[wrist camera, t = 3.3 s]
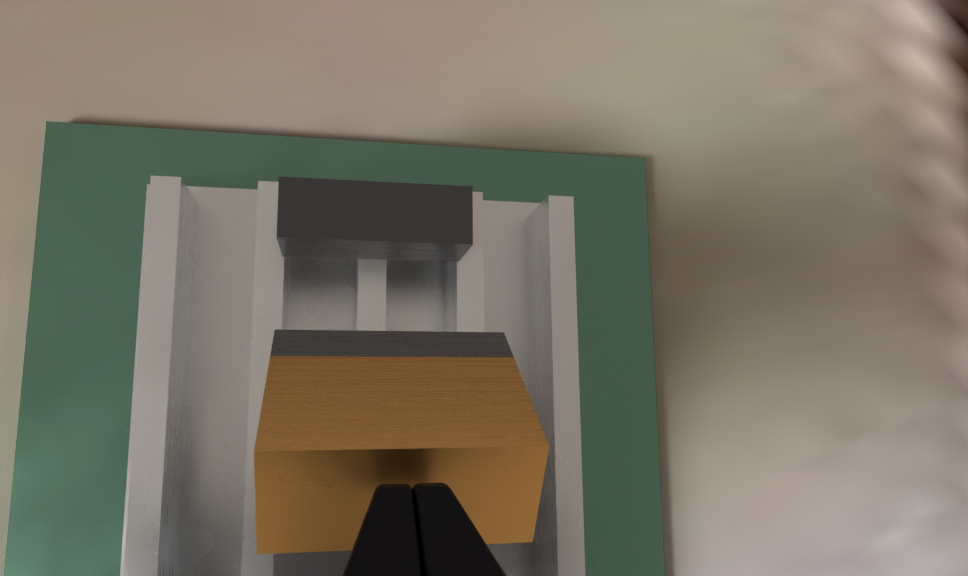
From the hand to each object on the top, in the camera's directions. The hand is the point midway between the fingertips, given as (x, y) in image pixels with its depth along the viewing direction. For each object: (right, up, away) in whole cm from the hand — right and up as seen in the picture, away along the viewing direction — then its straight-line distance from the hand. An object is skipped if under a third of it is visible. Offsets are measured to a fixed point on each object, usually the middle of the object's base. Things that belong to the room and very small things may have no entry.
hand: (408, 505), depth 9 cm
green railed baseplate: (-3, -3, +13) cm, 13 cm away
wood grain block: (-1, -3, +5) cm, 6 cm away
